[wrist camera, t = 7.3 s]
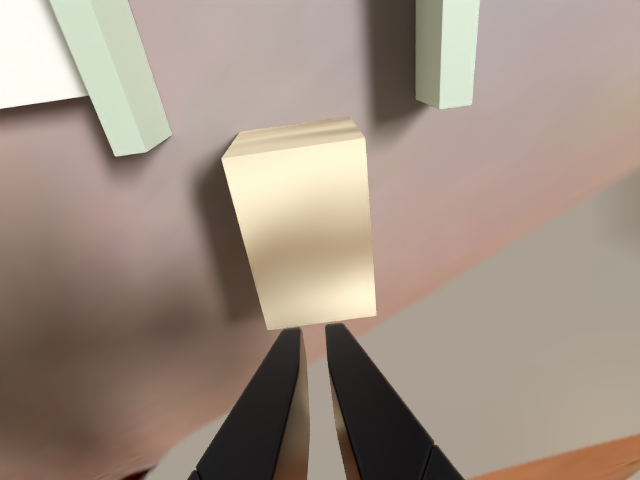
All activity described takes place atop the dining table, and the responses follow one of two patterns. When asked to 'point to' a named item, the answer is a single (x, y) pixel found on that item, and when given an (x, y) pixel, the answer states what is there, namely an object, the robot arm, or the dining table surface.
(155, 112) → the shelf bay
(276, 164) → the block
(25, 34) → the stand
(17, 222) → the dining table surface
